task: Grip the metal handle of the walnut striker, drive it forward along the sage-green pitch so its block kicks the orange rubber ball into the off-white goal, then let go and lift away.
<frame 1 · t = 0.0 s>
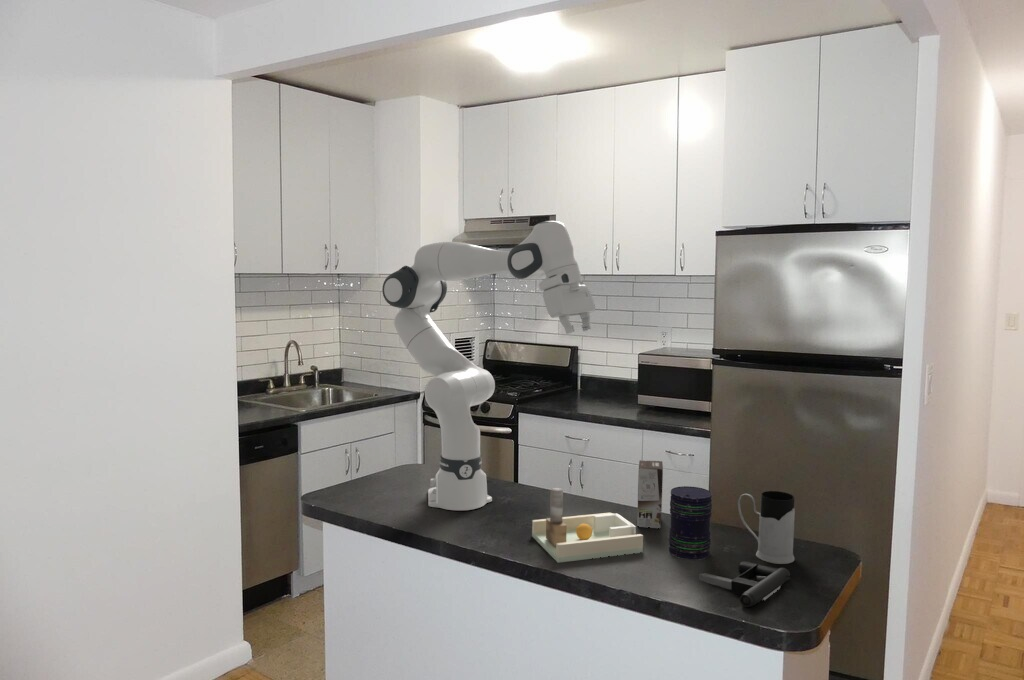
hand: (579, 331, 193), 52 cm above the counter, tool tilted 20°, fingers open, 8 cm apart
coffee box: (649, 523, 203), on the counter
door handle: (741, 587, 163), on the counter
storage jar: (689, 553, 182), on the counter
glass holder: (764, 554, 181), on the counter
ball: (584, 531, 186), point 3 cm above the counter, touching pitch
pitch: (585, 544, 186), on the counter
striker: (556, 515, 183), point 8 cm above the counter, slide at 0.0 cm
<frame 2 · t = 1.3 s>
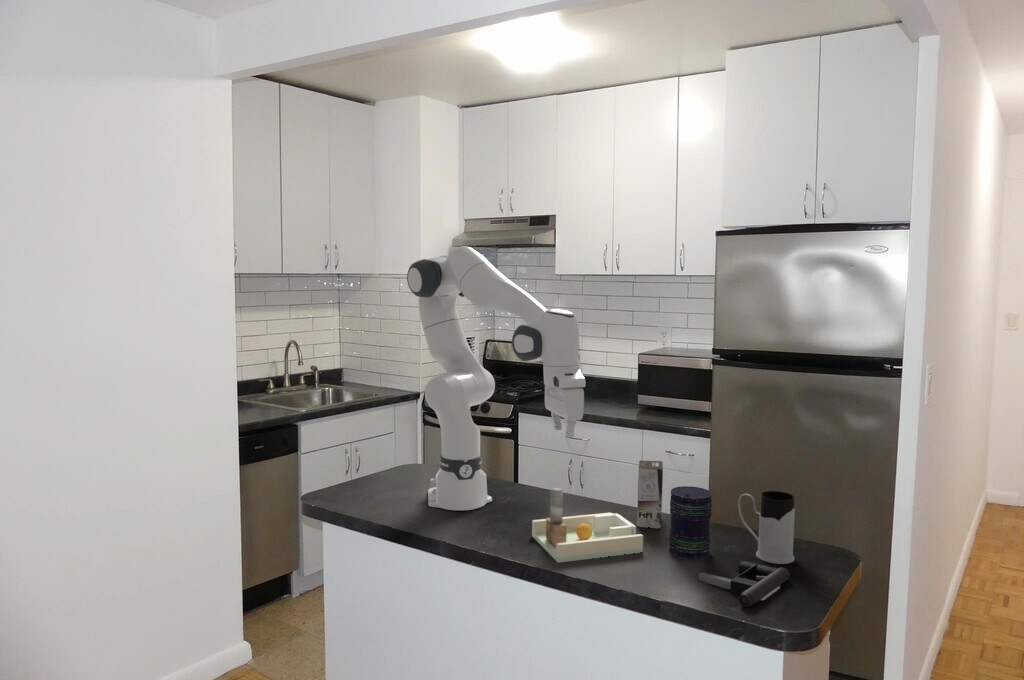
hand: (563, 433, 182), 28 cm above the counter, tool pointing down, fingers open, 8 cm apart
nothing on the counter moved.
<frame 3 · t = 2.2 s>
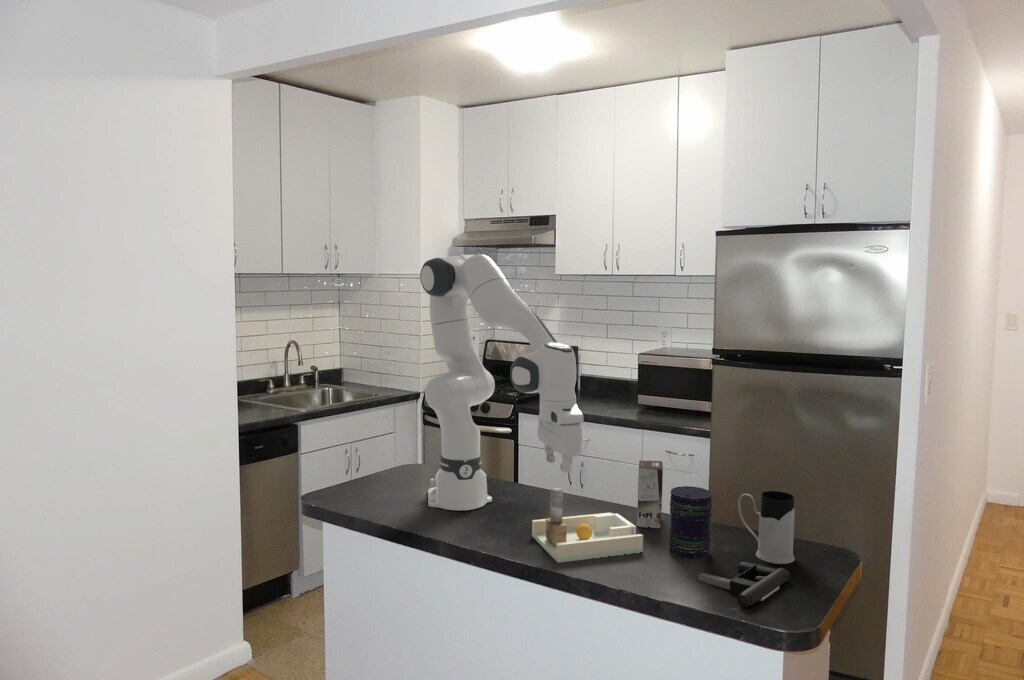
hand: (557, 466, 182), 20 cm above the counter, tool pointing down, fingers open, 8 cm apart
nothing on the counter moved.
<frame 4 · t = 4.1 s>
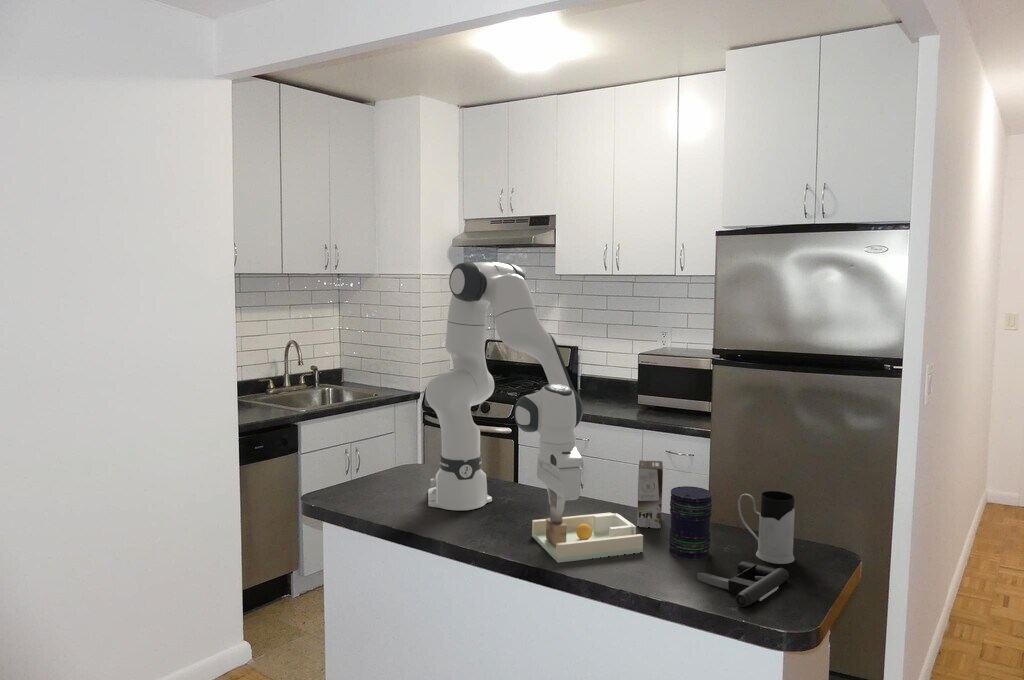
hand: (556, 507, 183), 10 cm above the counter, tool pointing down, fingers closed on striker, 3 cm apart
striker: (556, 515, 183), point 8 cm above the counter, slide at 0.0 cm, touching gripper
everything else where it was.
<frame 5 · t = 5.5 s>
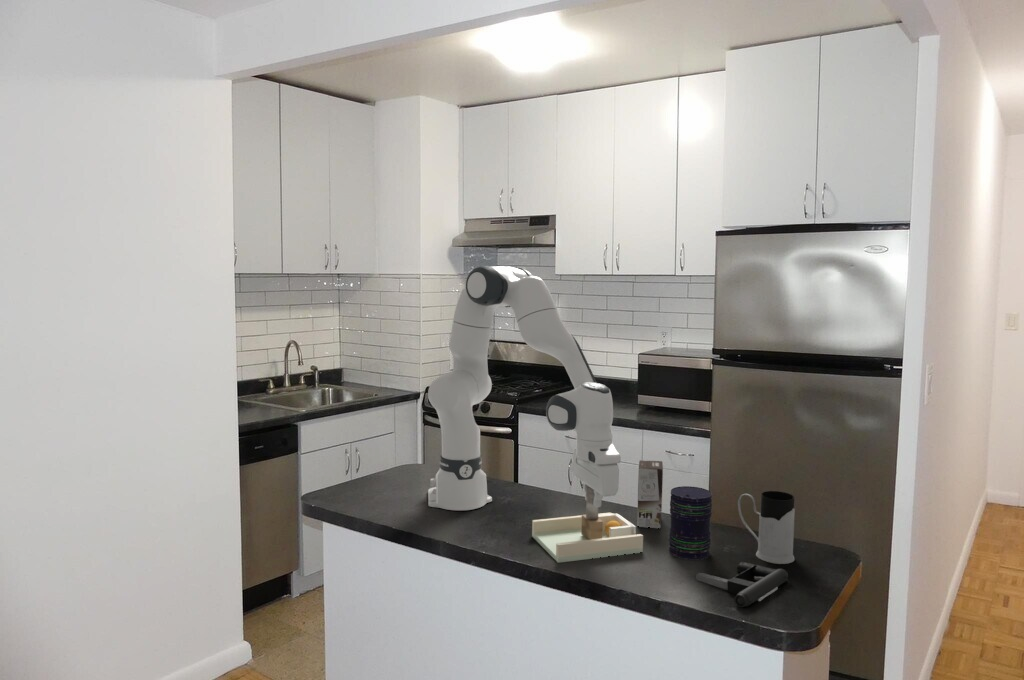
hand: (593, 503, 186), 10 cm above the counter, tool pointing down, fingers closed on striker, 3 cm apart
ball: (613, 528, 188), point 3 cm above the counter, tilted 137°, touching pitch
striker: (592, 512, 186), point 8 cm above the counter, slide at 9.6 cm, touching gripper
everything else where it was.
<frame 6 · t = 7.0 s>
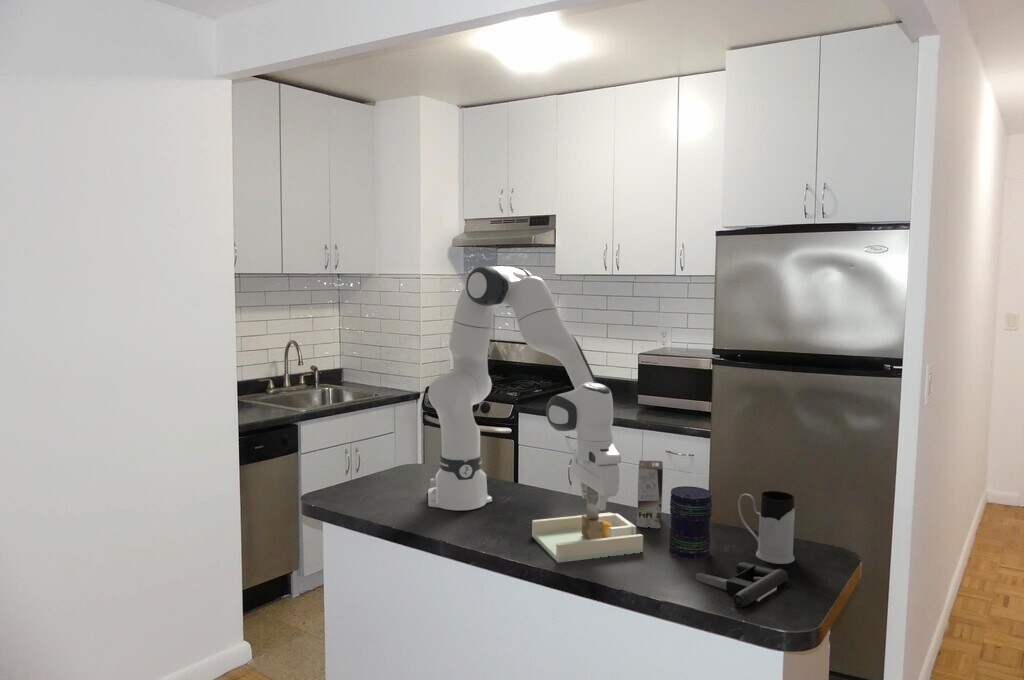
hand: (593, 503, 186), 10 cm above the counter, tool pointing down, fingers open, 8 cm apart
ball: (605, 529, 188), point 3 cm above the counter, tilted 160°, touching pitch
striker: (592, 512, 186), point 8 cm above the counter, slide at 9.6 cm
everything else where it was.
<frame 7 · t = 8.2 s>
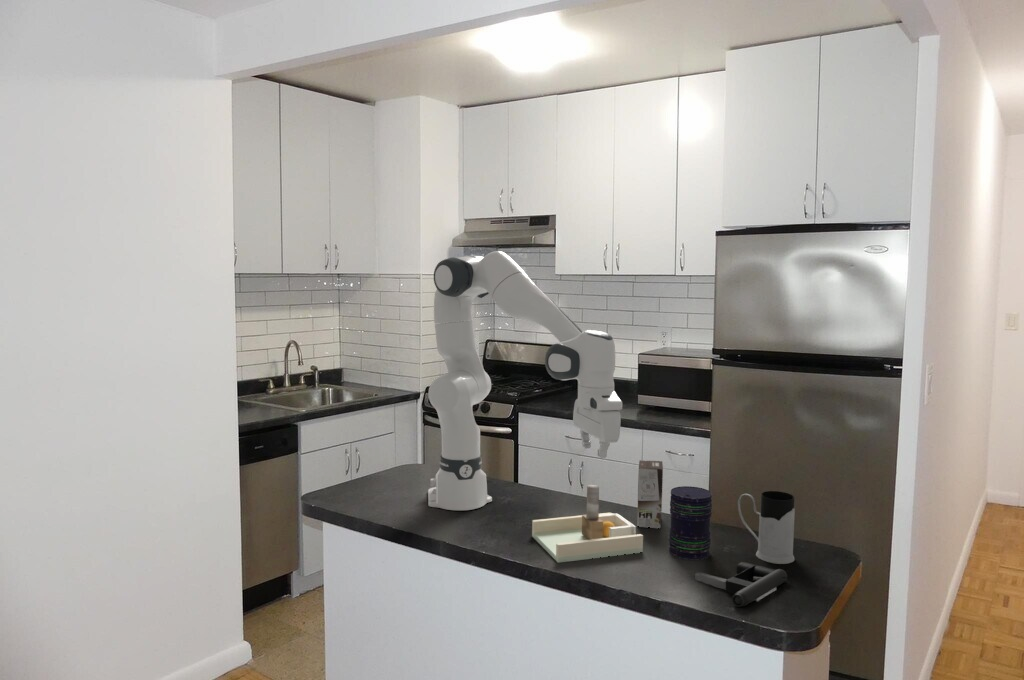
hand: (593, 452, 185), 23 cm above the counter, tool pointing down, fingers open, 8 cm apart
ball: (607, 529, 188), point 3 cm above the counter, tilted 178°, touching pitch
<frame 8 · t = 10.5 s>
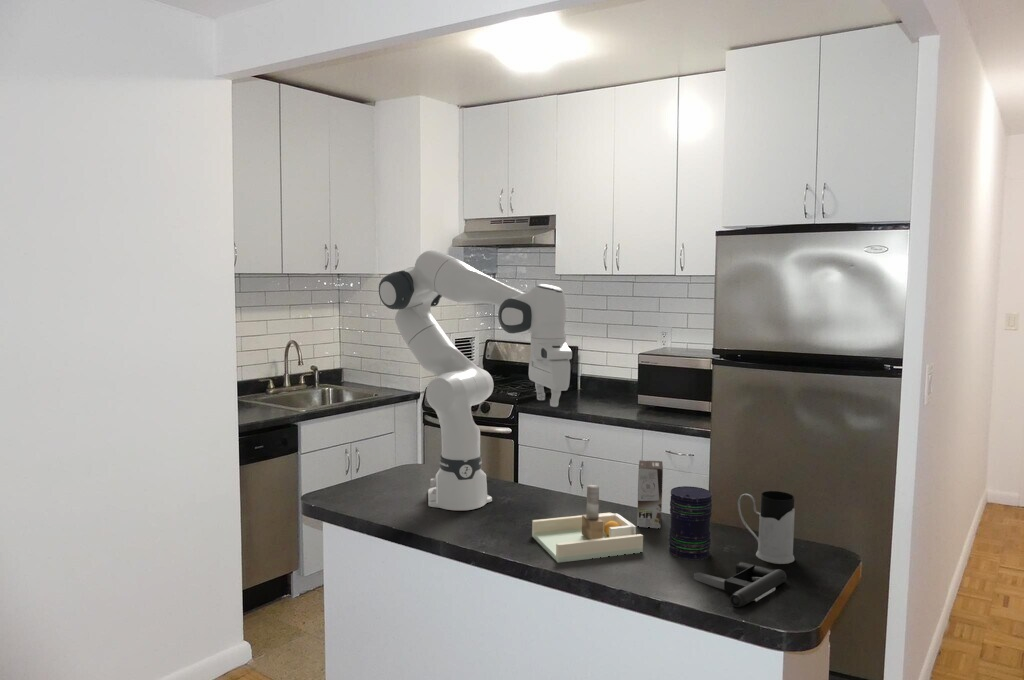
hand: (547, 403, 191), 34 cm above the counter, tool pointing down, fingers open, 8 cm apart
ball: (612, 528, 188), point 3 cm above the counter, tilted 146°, touching pitch
at the end: ball inside the target area on the pitch (0.2 cm from its centre), point 3.2 cm above the pitch's base; striker slide at 9.6 cm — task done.
